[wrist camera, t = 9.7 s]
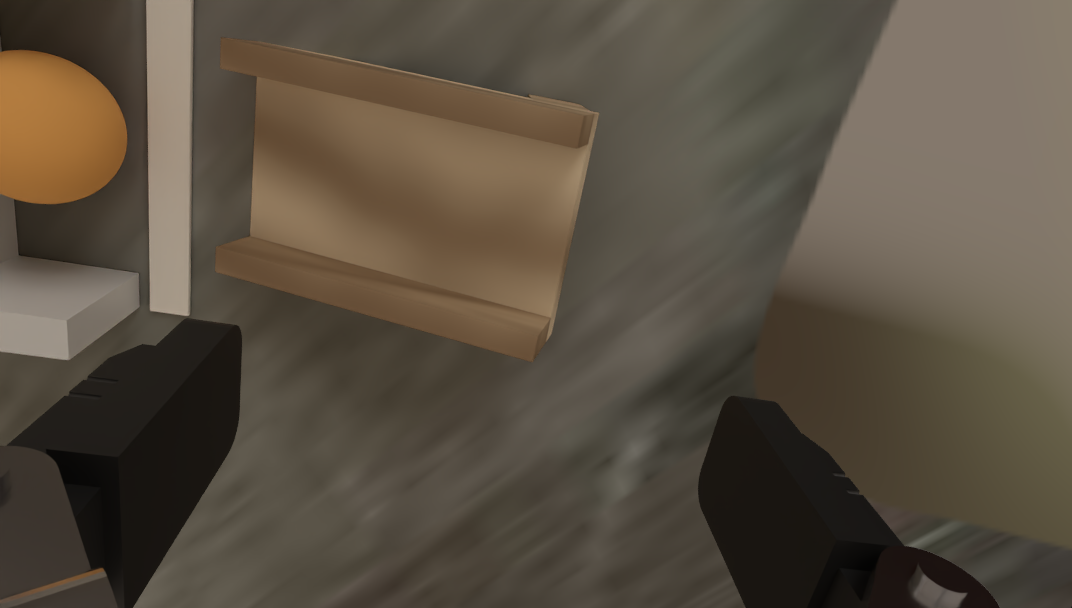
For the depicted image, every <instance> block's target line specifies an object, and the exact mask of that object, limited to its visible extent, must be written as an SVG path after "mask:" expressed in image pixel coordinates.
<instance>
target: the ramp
mask: <svg viewBox="0 0 1072 608" xmlns="http://www.w3.org/2000/svg"><path fill="white" fill-rule="evenodd" d="M220 68H221V69H225V70H230V71H234V72H239V73H243V74H247V75H252V76H256V77H257V84H256V108H255V132H254V155H253V179H252V203H251V226H250V236H249V237H245V238H242V239H239V240H236V241H233V242H229V243H226V244H223V245H220V246H217V247H216V262H215V272H218V273H221V274H225V275H228V276H232V277H235V278H239V279H242V280H246V281H249V282H253V283H256V284H260V285H263V286H267V287H270V288H274V289H277V290H281V291H284V292H288V293H291V294H295V295H298V296H302V297H305V298H309V299H312V300H316V301H319V302H323V303H326V304H330V305H333V306H337V307H340V308H344V309H347V310H351V311H354V312H358V313H361V314H365V315H368V316H372V317H375V318H379V319H382V320H386V321H389V322H393V323H396V324H400V325H403V326H407V327H410V328H414V329H417V330H421V331H424V332H428V333H431V334H435V335H439V336H442V337H446V338H449V339H453V340H456V341H460V342H463V343H467V344H470V345H474V346H477V347H481V348H484V349H488V350H491V351H495V352H498V353H502V354H505V355H509V356H512V357H516V358H519V359H523V360H526V361H530V362H533V361H534V359H535V358H536V356H537V355H538V353H539V352H540V350H541V349H542V347H543V346H544V344H545V343H546V341H547V340H548V338H549V337H550V335H551V334H552V329H553V325H554V320H555V315H556V311H557V306H558V301H559V297H560V292H561V288H562V283H563V278H564V274H565V269H566V264H567V260H568V255H569V250H570V246H571V241H572V237H573V232H574V227H575V223H576V218H577V213H578V209H579V204H580V199H581V195H582V190H583V186H584V181H585V176H586V172H587V167H588V162H589V158H590V153H591V148H592V144H593V139H594V135H595V130H596V125H597V121H598V116H599V113H597V112H592V111H589V110H588V109H586V108H584V107H583V106H581V105H580V104H576V103H571V102H566V101H561V100H555V99H550V98H545V97H540V96H535V95H530V94H528V98H527V97H522V96H518V95H513V94H508V93H504V92H499V91H495V90H490V89H485V88H481V87H476V86H471V85H467V84H462V83H457V82H453V81H448V80H443V79H439V78H434V77H429V76H425V75H420V74H415V73H411V72H406V71H401V70H397V69H392V68H387V67H383V66H378V65H374V64H369V63H364V62H360V61H355V60H350V59H346V58H341V57H336V56H331V55H325V54H320V53H315V52H310V51H305V50H300V49H295V48H290V47H284V46H279V45H274V44H269V43H264V42H259V41H250V40H241V39H232V38H223V37H221V53H220Z"/></svg>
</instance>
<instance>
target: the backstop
mask: <svg viewBox="0 0 1072 608" xmlns="http://www.w3.org/2000/svg"><path fill="white" fill-rule="evenodd" d="M0 52H2V49H1V37H0ZM139 307H140V305H139V273H135V272H128V271H121V270H115V269H108V268H101V267H94V266H87V265H81V264H74V263H67V262H60V261H54V260H47V259H40V258H33V257H26V256H20V255H19V253H18V241H17V229H16V217H15V205H14V199H13V198H10V197H7V196H5V195H2V194H0V351H1V352H9V353H16V354H24V355H32V356H39V357H47V358H55V359H63V360H70V359H71V358H73V357H74V356H75V355H77V354H78V353H79V352H81V351H82V350H83V349H85V348H86V347H87V346H89V345H90V344H91V343H93V342H94V341H95V340H97V339H98V338H99V337H101V336H102V335H103V334H105V333H106V332H107V331H109V330H110V329H111V328H113V327H114V326H115V325H117V324H118V323H119V322H121V321H122V320H123V319H125V318H126V317H127V316H128V315H130V314H131V313H132V312H134V311H135V310H136V309H138V308H139Z"/></svg>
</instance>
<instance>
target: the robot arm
mask: <svg viewBox="0 0 1072 608" xmlns="http://www.w3.org/2000/svg"><path fill="white" fill-rule="evenodd" d="M241 354H242V335H241V330H240V328H239V326H237V325H231V324H224V323H217V322H210V321H203V320H196V319H188V318H187V319H184V320H183V321H182V322H181V323H180V324H178V325H177V326H176V327H175V328H174V329H173V330H172V331H171V332H170V333H169V334H168V335H167V336H166V337H165V338H164V339H162V340H161V341H160V342H159V343H158V344H157V345H156V346H153V345H145V344H142V345H139V346H137V347H134V348H132V349H130V350H127V351H125V352H122V353H120V354H117V355H115V356H113V357H110V358H109V359H107V360H106V361H105V362H104V363H103V364H102V365H100V366H99V367H98V368H97V369H96V370H95V371H93V372H92V373H91V374H90V375H89V376H88V379H87V380H83V381H82V382H80V383H79V384H78V385H77V386H76V387H75V388H73V389H72V390H71V391H70V393H69V396H64V397H63V398H62V399H61V400H59V401H58V402H57V403H56V404H55V405H53V406H52V407H51V408H50V409H49V410H48V411H46V412H45V413H44V414H43V415H42V416H41V417H39V418H38V419H37V420H36V421H35V422H34V423H32V424H31V425H30V426H29V427H28V428H27V429H25V430H24V431H23V432H22V433H21V434H19V435H18V436H17V437H16V438H15V439H14V440H12V441H11V442H10V443H9V444H8V445H7V446H0V608H133V607H134V605H135V603H136V602H137V600H138V598H139V597H140V595H141V594H142V592H143V590H144V589H145V587H146V586H147V584H148V582H149V581H150V579H151V577H152V576H153V574H154V573H155V571H156V569H157V568H158V566H159V565H160V563H161V561H162V560H163V558H164V557H165V555H166V553H167V552H168V550H169V548H170V547H171V545H172V544H173V542H174V540H175V539H176V537H177V536H178V534H179V532H180V531H181V529H182V527H183V526H184V524H185V523H186V521H187V519H188V518H189V516H190V515H191V513H192V511H193V510H194V508H195V506H196V505H197V503H198V502H199V500H200V498H201V497H202V495H203V494H204V492H205V490H206V489H207V487H208V486H209V484H210V482H211V481H212V479H213V477H214V476H215V474H216V473H217V471H218V469H219V468H220V466H221V465H222V463H223V461H224V460H225V458H226V456H227V455H228V453H229V451H230V449H231V447H232V444H233V442H234V439H235V435H236V431H237V427H238V421H239V411H240V383H241ZM698 495H699V503H700V507H701V509H702V512H703V514H704V516H705V518H706V521H707V523H708V525H709V527H710V530H711V532H712V534H713V536H714V538H715V541H716V543H717V545H718V547H719V549H720V552H721V554H722V556H723V558H724V561H725V563H726V565H727V567H728V569H729V572H730V574H731V576H732V578H733V580H734V583H735V585H736V587H737V589H738V592H739V594H740V596H741V598H742V600H743V603H744V605H745V607H746V608H1000V607H999V605H998V603H997V601H996V600H995V598H994V597H993V596H992V594H991V593H990V592H989V591H988V590H987V589H986V588H985V587H984V586H983V585H982V584H981V583H980V582H979V581H978V580H977V579H975V578H974V577H973V576H972V575H970V574H969V573H968V572H966V571H965V570H963V569H962V568H960V567H959V566H957V565H955V564H954V563H952V562H950V561H948V560H946V559H944V558H942V557H940V556H938V555H936V554H933V553H931V552H928V551H925V550H922V549H919V548H915V547H909V546H904V545H903V544H902V542H901V541H900V540H899V539H898V537H897V536H896V535H895V534H894V533H893V531H892V530H891V529H890V528H889V526H888V525H887V524H886V523H885V522H884V520H883V519H882V518H881V517H880V515H879V514H878V513H877V512H876V511H875V509H874V508H873V507H872V506H871V504H870V503H869V502H868V501H867V500H866V498H865V497H864V496H863V495H859V490H858V488H857V487H856V486H855V485H854V484H853V482H852V481H851V480H850V479H849V478H847V477H845V473H844V471H843V470H842V469H841V468H840V466H839V465H838V464H837V463H836V462H835V460H834V459H833V458H832V457H831V456H830V454H829V453H828V452H826V451H825V450H824V449H823V448H821V447H820V446H818V445H817V444H816V443H814V442H813V441H812V440H810V439H809V438H808V437H806V436H805V435H804V434H802V433H801V432H800V431H799V430H798V428H797V427H796V426H795V425H794V424H793V422H792V421H791V420H790V418H789V417H788V416H787V414H786V413H785V412H784V411H783V409H782V408H781V407H780V406H779V405H778V404H777V403H776V402H774V401H767V400H760V399H753V398H746V397H739V396H730V397H729V398H728V399H727V400H726V401H725V402H724V404H723V406H722V409H721V411H720V414H719V417H718V420H717V423H716V426H715V429H714V432H713V435H712V438H711V441H710V444H709V447H708V450H707V453H706V456H705V459H704V462H703V465H702V468H701V472H700V476H699V484H698ZM1071 608H1072V607H1071Z"/></svg>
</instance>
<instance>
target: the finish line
mask: <svg viewBox="0 0 1072 608" xmlns="http://www.w3.org/2000/svg"><path fill="white" fill-rule="evenodd" d="M146 15H147V98H148V181H149V263H150V311H155V312H162V313H170V314H177V315H184V316H189V315H190V301H191V205H192V110H193V15H194V0H146Z"/></svg>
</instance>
